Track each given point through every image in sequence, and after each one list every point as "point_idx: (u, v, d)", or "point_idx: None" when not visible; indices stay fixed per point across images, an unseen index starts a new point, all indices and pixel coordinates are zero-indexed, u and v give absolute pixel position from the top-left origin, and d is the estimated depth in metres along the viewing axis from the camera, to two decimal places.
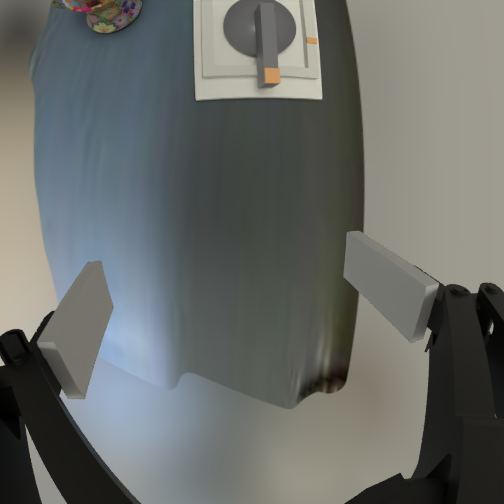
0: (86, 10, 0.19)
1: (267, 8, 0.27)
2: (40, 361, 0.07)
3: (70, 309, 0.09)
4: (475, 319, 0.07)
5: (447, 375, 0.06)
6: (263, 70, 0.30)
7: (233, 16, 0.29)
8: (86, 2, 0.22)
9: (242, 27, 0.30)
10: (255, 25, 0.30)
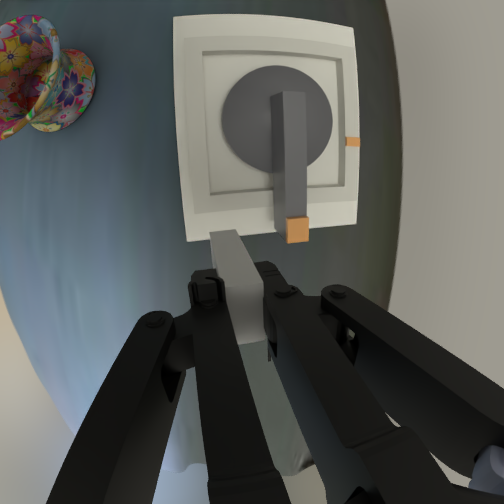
0: None
1: (294, 103, 0.20)
2: None
3: (234, 263, 0.12)
4: (316, 319, 0.08)
5: (309, 396, 0.06)
6: (284, 218, 0.24)
7: (237, 105, 0.22)
8: (8, 94, 0.15)
9: (251, 126, 0.23)
10: (272, 123, 0.23)
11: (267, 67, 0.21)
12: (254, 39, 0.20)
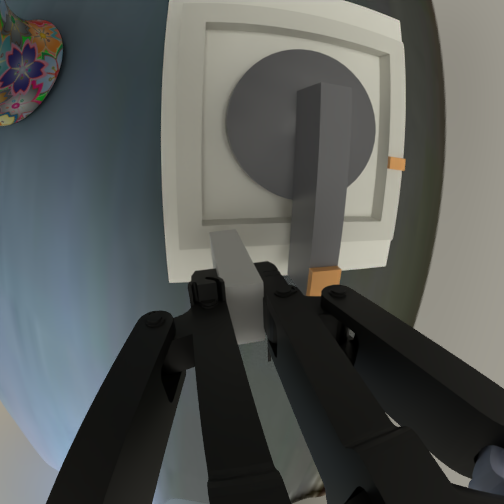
0: None
1: (336, 101, 0.13)
2: None
3: (234, 263, 0.12)
4: (316, 319, 0.08)
5: (309, 396, 0.06)
6: (306, 268, 0.16)
7: (250, 99, 0.15)
8: None
9: (268, 131, 0.16)
10: (297, 129, 0.16)
11: (295, 51, 0.15)
12: (279, 13, 0.14)
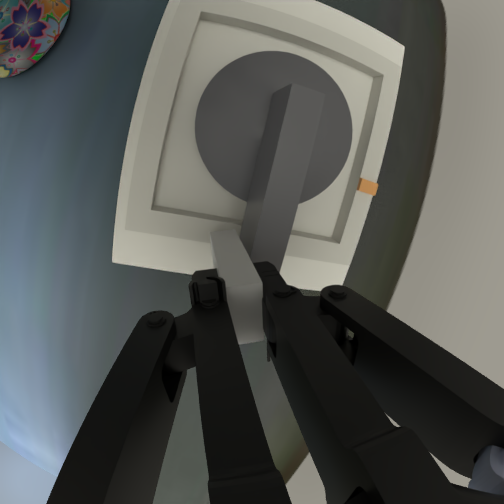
0: None
1: (305, 105, 0.13)
2: None
3: (234, 263, 0.12)
4: (316, 319, 0.08)
5: (308, 397, 0.06)
6: None
7: (223, 93, 0.15)
8: None
9: (234, 127, 0.16)
10: (265, 130, 0.16)
11: (281, 53, 0.14)
12: (276, 14, 0.14)
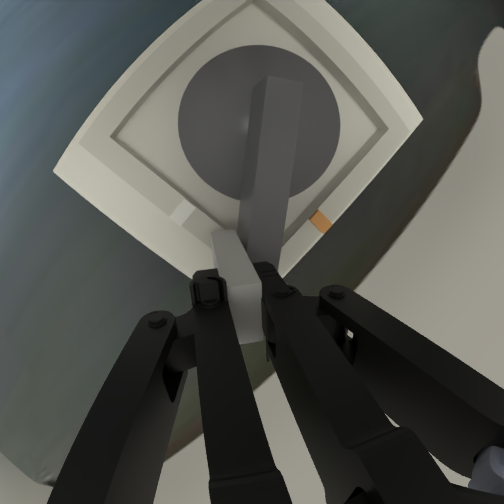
0: None
1: (283, 96, 0.12)
2: None
3: (235, 262, 0.12)
4: (315, 320, 0.08)
5: (307, 397, 0.06)
6: None
7: (202, 95, 0.15)
8: None
9: (218, 128, 0.16)
10: (249, 126, 0.16)
11: (256, 46, 0.14)
12: (319, 28, 0.14)
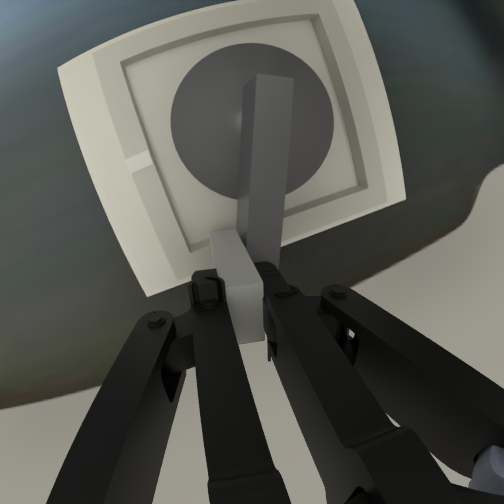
0: None
1: (274, 93, 0.12)
2: None
3: (234, 263, 0.12)
4: (316, 319, 0.08)
5: (309, 396, 0.06)
6: None
7: (193, 97, 0.15)
8: None
9: (211, 128, 0.16)
10: (242, 125, 0.15)
11: (244, 45, 0.14)
12: (353, 69, 0.16)
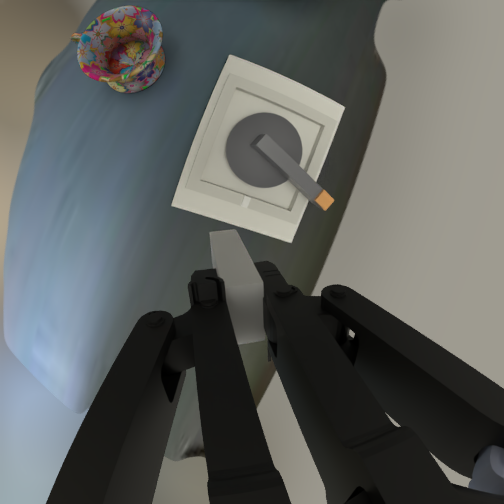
0: (93, 78, 0.22)
1: (267, 144, 0.32)
2: None
3: (234, 263, 0.12)
4: (316, 319, 0.08)
5: (309, 396, 0.06)
6: (313, 200, 0.36)
7: (239, 165, 0.36)
8: (106, 51, 0.25)
9: (256, 168, 0.37)
10: (264, 157, 0.36)
11: (233, 131, 0.34)
12: (272, 92, 0.34)
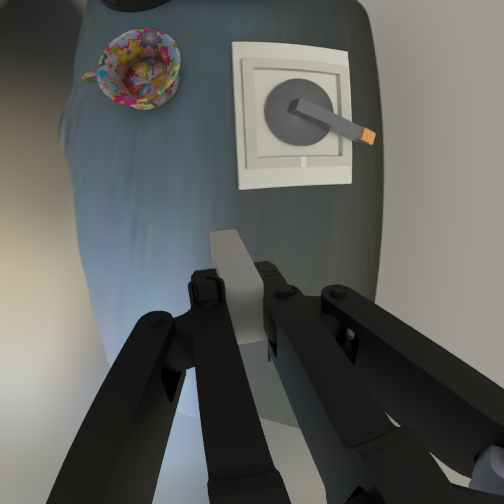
0: (130, 103, 0.26)
1: (304, 106, 0.33)
2: None
3: (233, 263, 0.12)
4: (316, 319, 0.08)
5: (309, 397, 0.06)
6: (359, 139, 0.37)
7: (286, 132, 0.38)
8: (122, 78, 0.28)
9: (300, 130, 0.38)
10: (304, 118, 0.37)
11: (268, 106, 0.36)
12: (285, 61, 0.34)
